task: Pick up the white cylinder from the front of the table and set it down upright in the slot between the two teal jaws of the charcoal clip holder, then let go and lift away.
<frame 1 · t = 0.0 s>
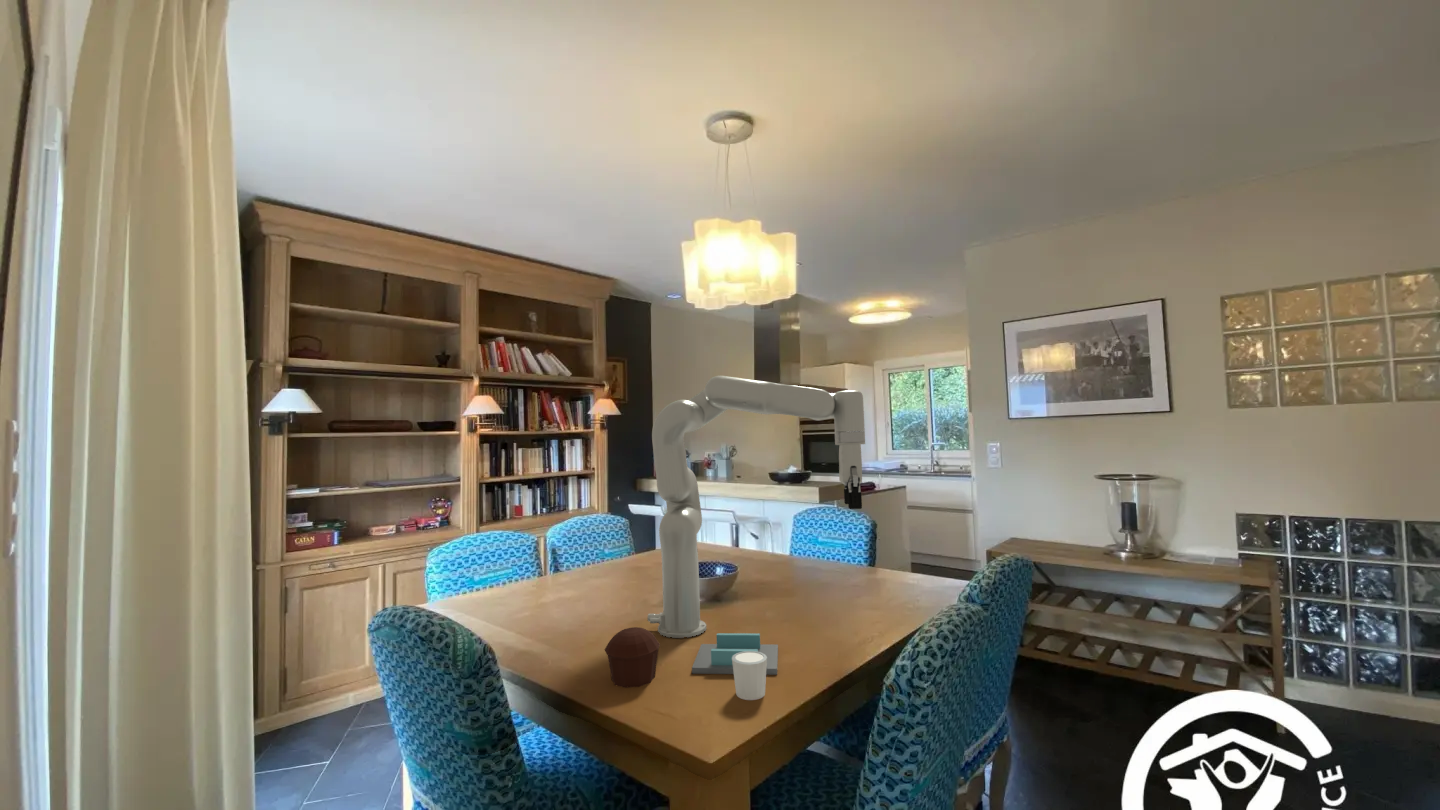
hand: (852, 506, 147), 31 cm above the table, tool pointing down, fingers open, 9 cm apart
clip holder: (737, 661, 129), on the table
muffin: (633, 679, 121), on the table
white cylinder: (750, 694, 112), on the table
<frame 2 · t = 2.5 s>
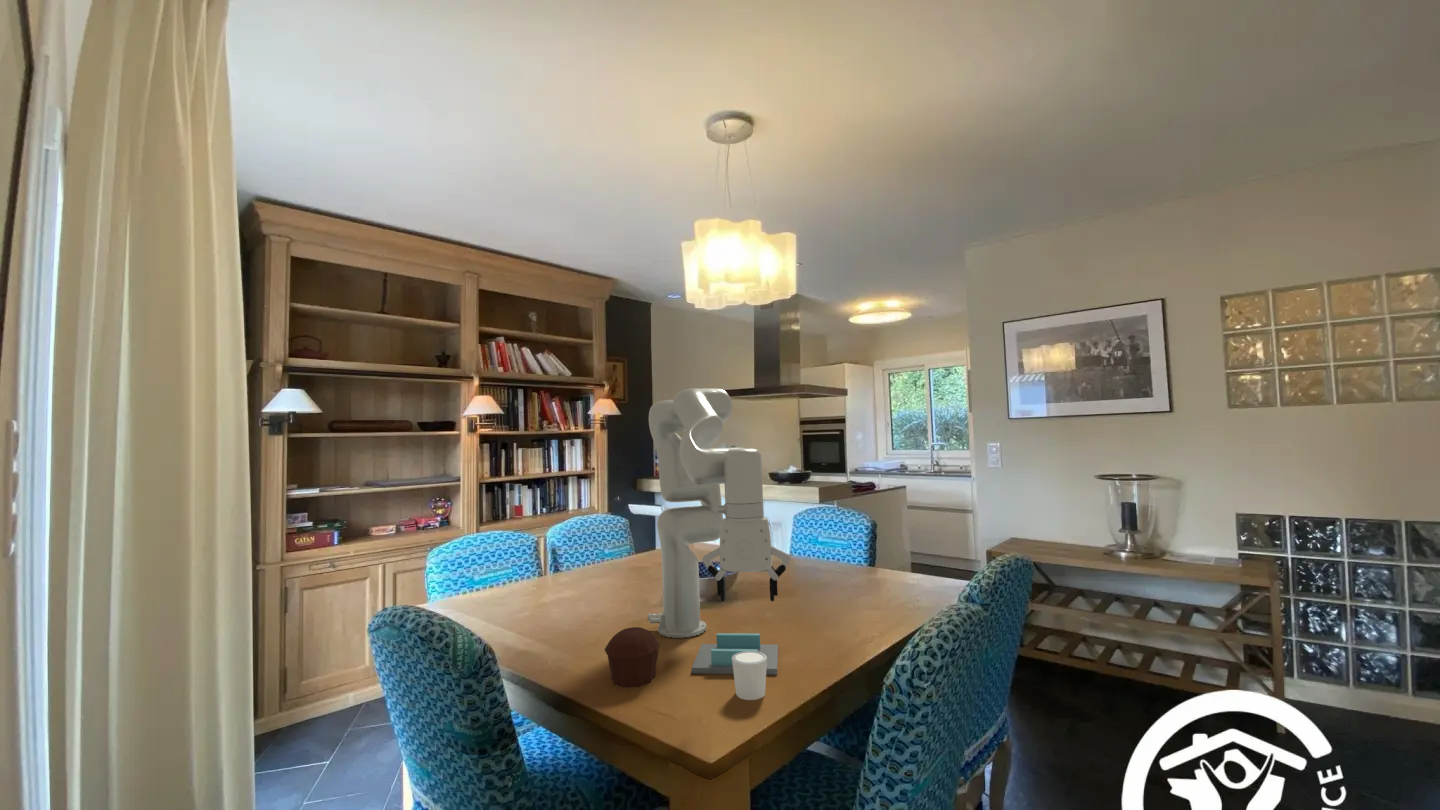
hand: (747, 599, 113), 18 cm above the table, tool pointing down, fingers open, 9 cm apart
nothing on the table moved.
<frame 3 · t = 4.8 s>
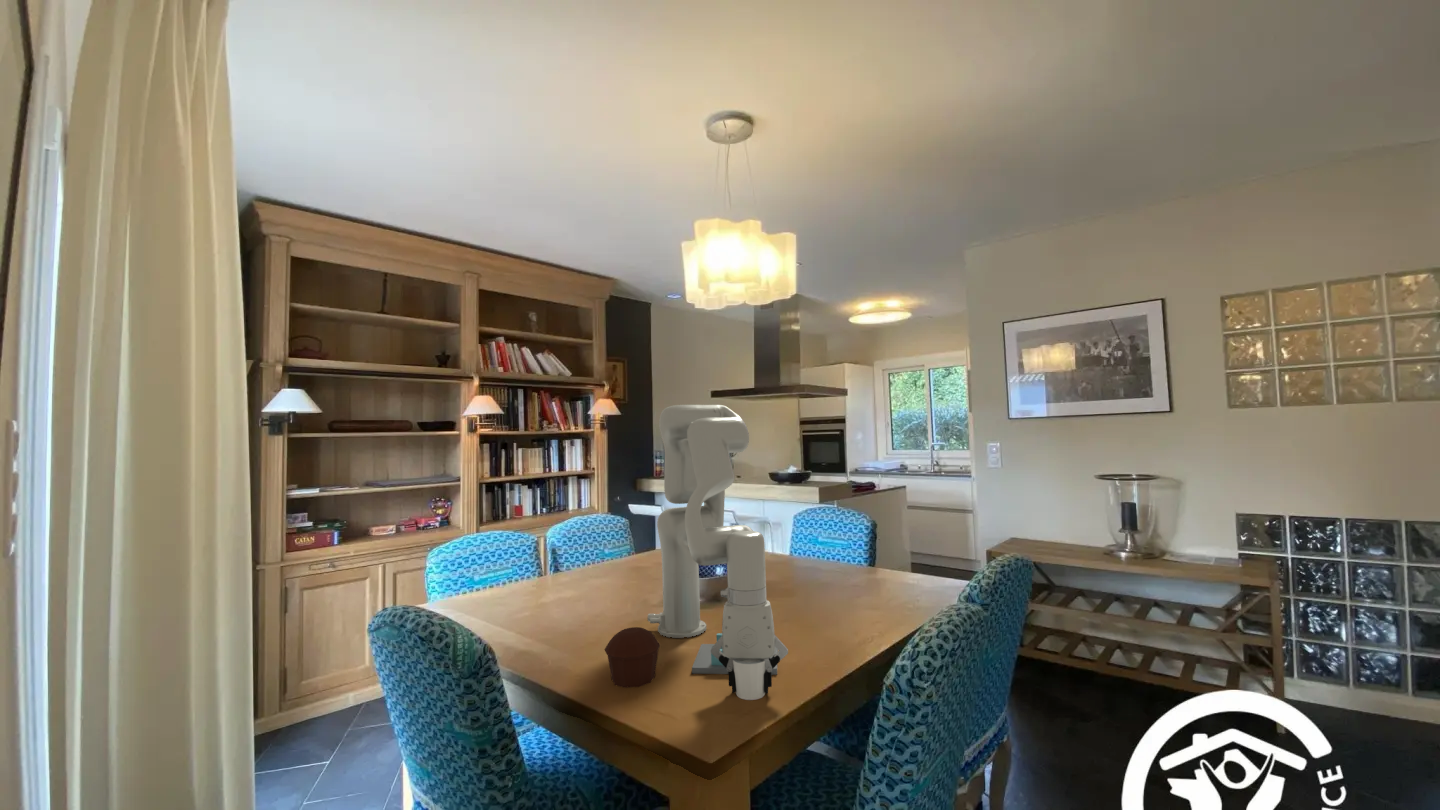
hand: (750, 689, 112), 1 cm above the table, tool pointing down, fingers closed on white cylinder, 5 cm apart
white cylinder: (750, 694, 112), on the table, touching gripper
everything else where it was.
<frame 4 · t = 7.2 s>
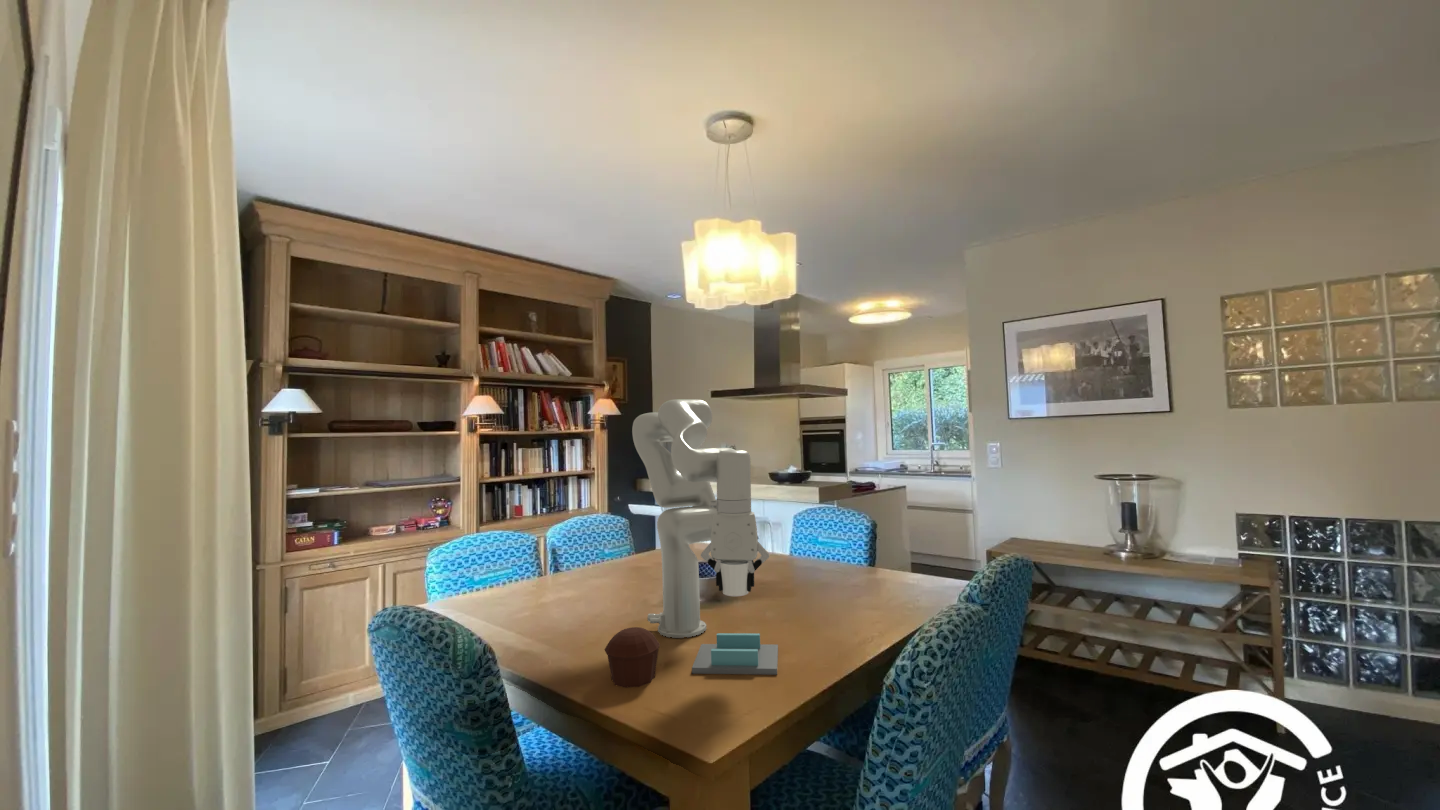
hand: (735, 588, 126), 17 cm above the table, tool pointing down, fingers closed on white cylinder, 5 cm apart
white cylinder: (735, 593, 126), point 16 cm above the table, touching gripper
everything else where it was.
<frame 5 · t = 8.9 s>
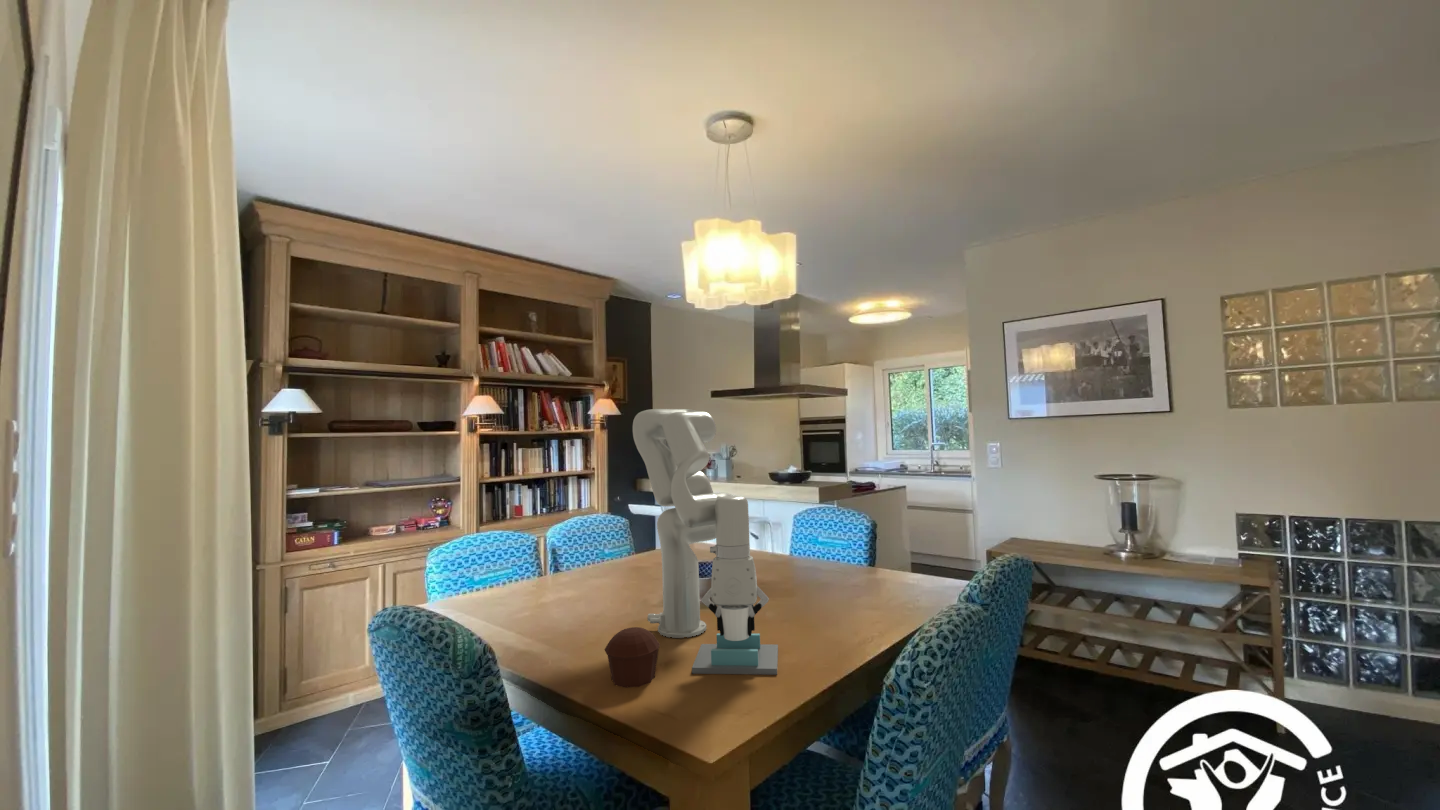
hand: (736, 632, 129), 6 cm above the table, tool pointing down, fingers closed on white cylinder, 5 cm apart
white cylinder: (736, 637, 129), point 5 cm above the table, touching gripper
everything else where it was.
when the fingers open (3 cm above the table, at t = 10.1 s): white cylinder stays where it is, resting on clip holder.
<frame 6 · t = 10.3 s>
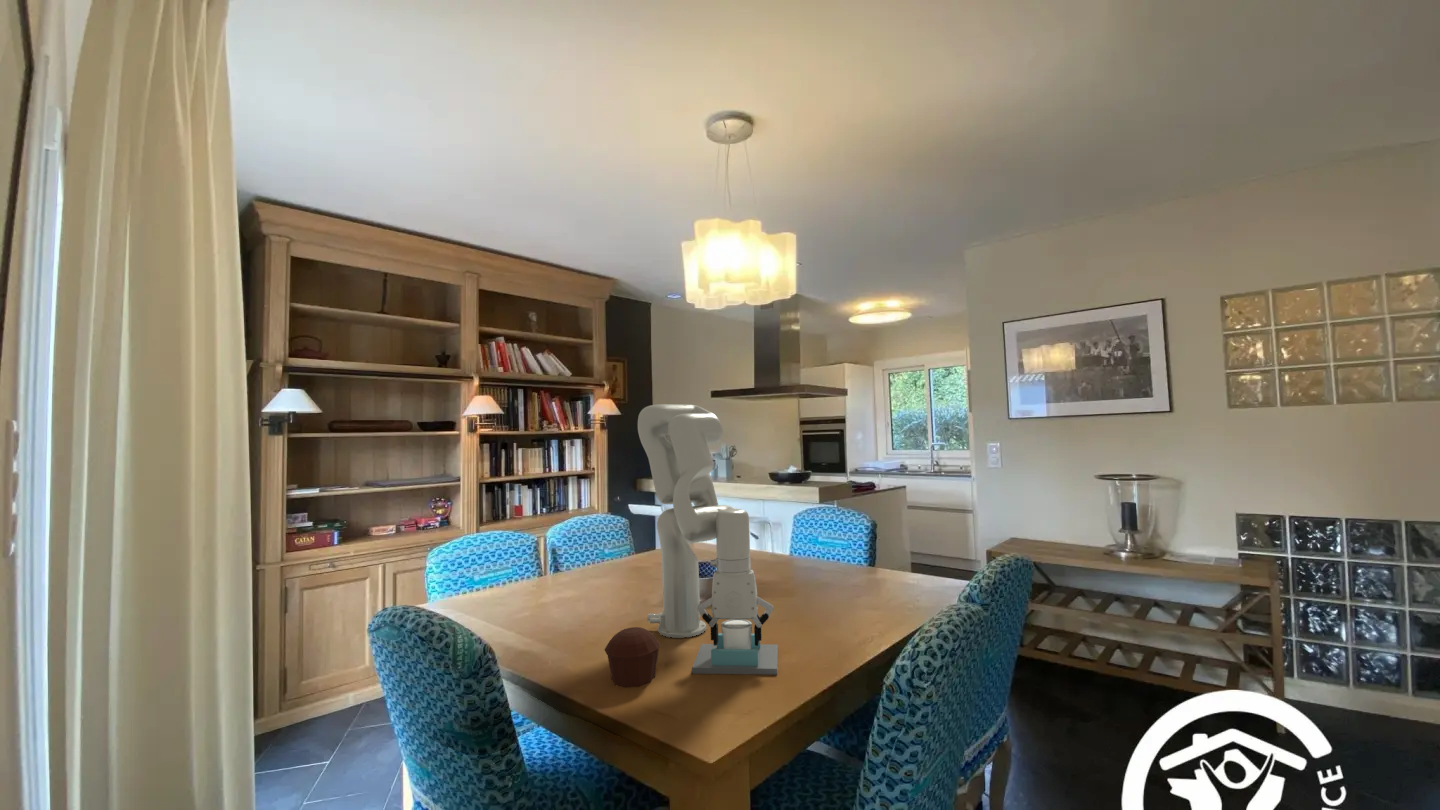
hand: (736, 643, 129), 4 cm above the table, tool pointing down, fingers open, 8 cm apart
white cylinder: (737, 656, 129), point 1 cm above the table, touching clip holder
everything else where it was.
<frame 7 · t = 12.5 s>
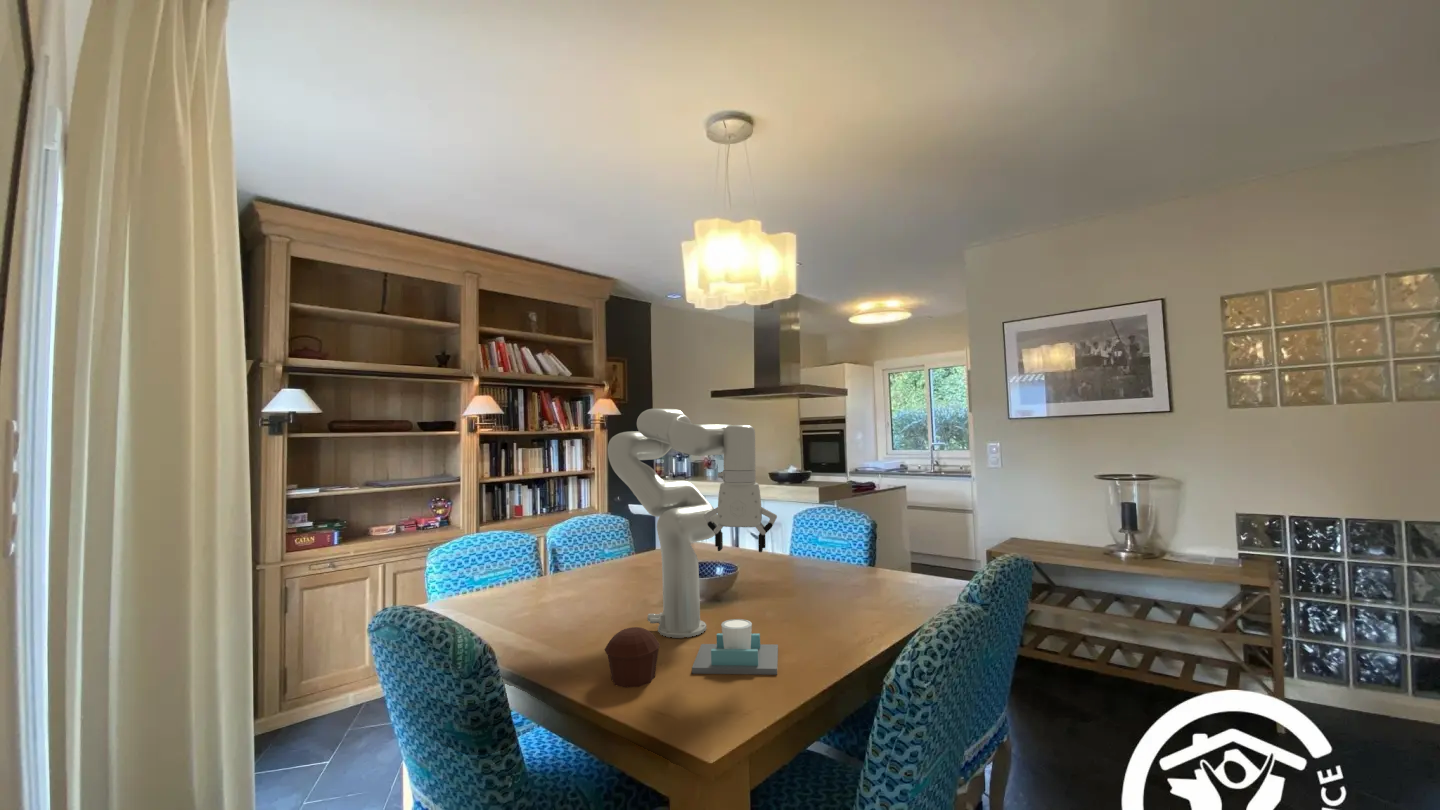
hand: (740, 550, 136), 23 cm above the table, tool pointing down, fingers open, 9 cm apart
nothing on the table moved.
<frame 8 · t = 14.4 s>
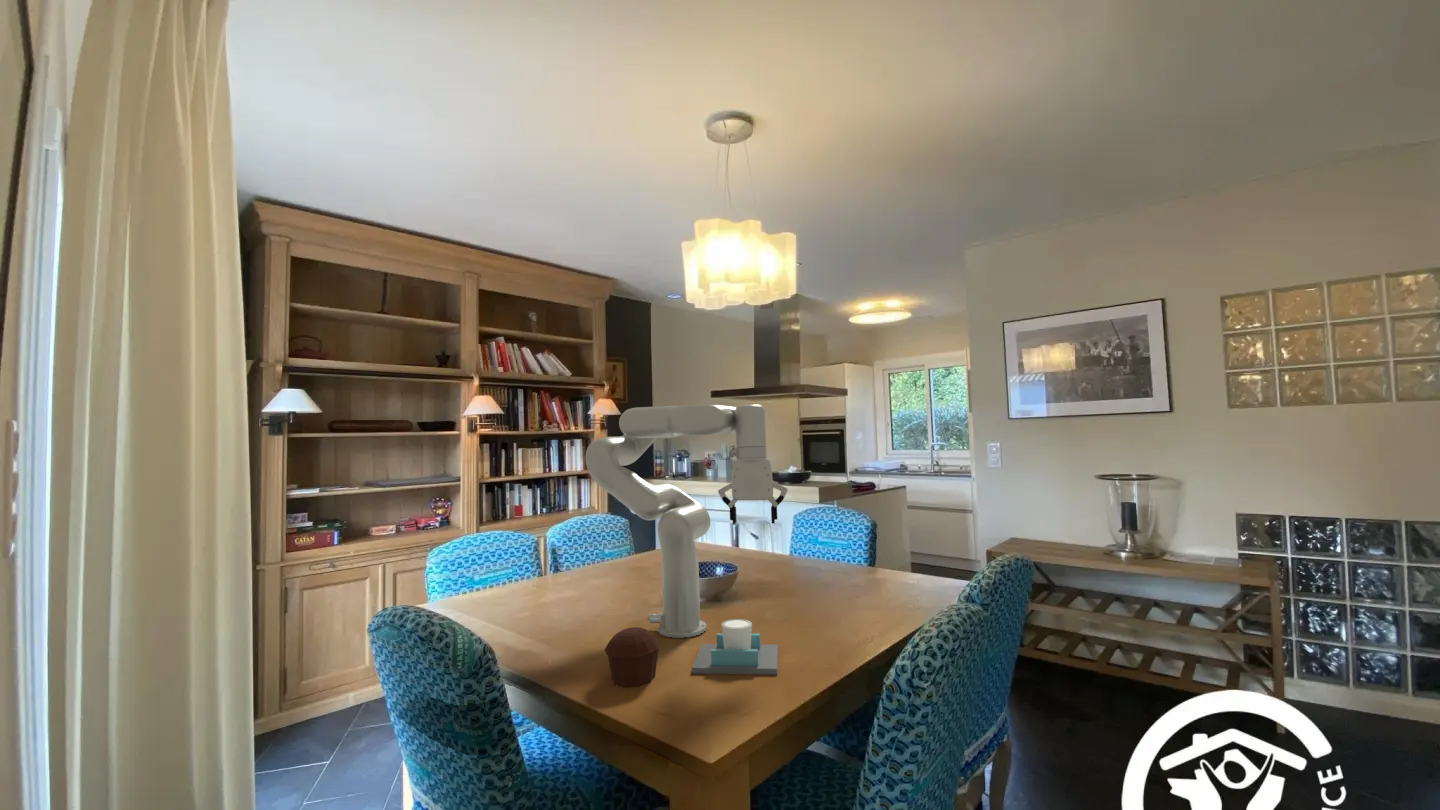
hand: (753, 523, 144), 28 cm above the table, tool pointing down, fingers open, 9 cm apart
nothing on the table moved.
at the end: white cylinder 0.3 cm off-centre on the clip holder, point 1.0 cm above the clip holder's base; white cylinder tilted 0°; the gripper is holding nothing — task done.
